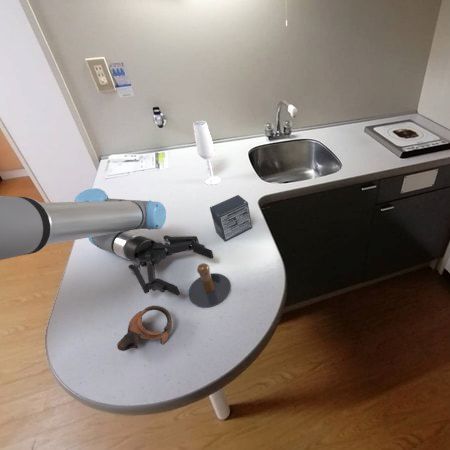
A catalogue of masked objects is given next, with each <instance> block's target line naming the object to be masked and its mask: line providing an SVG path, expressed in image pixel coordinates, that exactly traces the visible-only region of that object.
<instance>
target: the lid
mask: <svg viewBox="0 0 450 450" xmlns="http://www.w3.org/2000/svg"><path fill="white" fill-rule="evenodd" d="M196 270H197V274H199V277H198V278H197V279H195V280H194V281H193V282H192V283H191V285H190V286H189V289H188V298H189V300H190V302H191V303H192V304H193V305H194V306H196V307H198V308H203V309H205V308H206V309H207V308H212V307H215V306H219V304H221V303H223V302H224V301H225V300H227V298H228V297H229V295H230V293H231V289H232V288H231V287H232V286H231V281H230V280H229V278H228V277H227V276H226V275H224V274H223V273H217V272H215V273H213V272H211V271H210V265H209V264H207V263H205V262H204V263H200V264H199V265H198V266H197V268H196Z"/></svg>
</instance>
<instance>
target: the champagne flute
mask: <svg viewBox="0 0 450 450" xmlns="http://www.w3.org/2000/svg"><path fill="white" fill-rule="evenodd" d="M192 128H193V133H194V140H195V148H196V153H197V156H199V157H200V158H202V159H203V160H206V163H207V168H208V171H209V177H207V178H205V179H204V184H206V185H209V186H215V185H217V184H219V183H221V181H222V178H221V177H220V176H217V175H214V172H213V169H212V168H213V167H212V163H211V159H212V158H213V157H214V155H215V153H216V148H215V145H214V141H213V139H212V135H211V132H210V128H209V125H208V123H207V121H206V120H196V121H193V122H192Z"/></svg>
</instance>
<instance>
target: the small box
mask: <svg viewBox="0 0 450 450" xmlns="http://www.w3.org/2000/svg"><path fill="white" fill-rule="evenodd" d="M209 211H210V214H211V218H212V221H213V222H212V223H213V225H214V230H215V233H216V234H217V235H218V237H220V238H221V240H222V241H224V242H228V241H230V240H231V239H233V238H235V237H237V236H239V235H241V234H243V233H245V232H247V231H249V230H251V229H252V228H253V224H252V218H251V213H250V207H249V202H248V201H247V200H246V199H244V198H243V196H241V195H239V194H237V195H235V196H233V197H230V198H228V199H226V200H223V201H221V202H219V203H216V204H215V205H212V206H210V207H209Z"/></svg>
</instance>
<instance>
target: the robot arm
mask: <svg viewBox="0 0 450 450" xmlns="http://www.w3.org/2000/svg"><path fill="white" fill-rule="evenodd" d="M166 219H167V210H166V207H165V205H164V204H163V203H162V202H160V201H152V200H138V199H123V198H122V199H121V198H110V197H109V194H107V193H106V192H105V190H103V189H101V188H98V187H97V188H88V189H86V190H83V191H81V192H79V194H78V195H76V196H75V198H74V201H55V202H53V201H52V202H50V201H49V202H48V201H47V202H40V201H38V200H36V199H35V198H32V197H29V196H7V195H0V261H2V260H8V259H12V258H17V257H21V256H26V255H31V254H36V253H38V252H40V251H42V250H43V249H44V248H46V246H47V245H48V246H49V245H54V244H60V243H64V242H70V241H77V240H83V239H88V242H90V244H92V245H93V246H95V247H97V248H98V249H100V250H104V251H106V252H109V253H110V254H113V255H115V256H119V257H120V258H123V259H125V260H128V261H130V262H133V263H134V264H132V263H131V264H129V265H128V267H127V268H128V269H129V272H130V273H131V274H132V275H133V276H135V277H136V279H137V282H138V284H139V285H140V287H141V290H142V291H143V293H144V294H148V293H150V291H151V290H152V291H153V292H156V291H159V292H161V293H164V292H166V291H167V292H169V293H171V294H174V295H176V296H179V295H180V294H181V292H180V290H179V287H178V286H177V285H175V284H172V283H170V282H168V281H165V280H163V279H162V278H158V277H157V276H156V267H155V265H159V264H160V263H162V261H163V260H164V259H166V258H167V257H169V256H172V255H173V254H179V253H184V252H189V251H192V252H193V253H195V254H198V255H200V256H203V257H206V258H208V259H210V260H213V259H214V258H215V257H214V253H213V250H212V249H209V248H207V247H206V246H205V245H204V244H201V243H200V242H199V238H198V236H197V235H188V236H185V235H184V236H182V235H181V236H171V235H164V236H163V240H162V241H161V242H158V241H155V240H153V239H152V238H149V237H146V236H143V235H142V234H139V233H136V232H133V231H136V230H149V231H150V230H159V229H162V227H164V225H165V223H166ZM141 267H142V268H143V267H146V270H147V279H148V280H147V281H148V282H146V281H145V279H144V277H143V275H142V273H141V270H142V269H141Z"/></svg>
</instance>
